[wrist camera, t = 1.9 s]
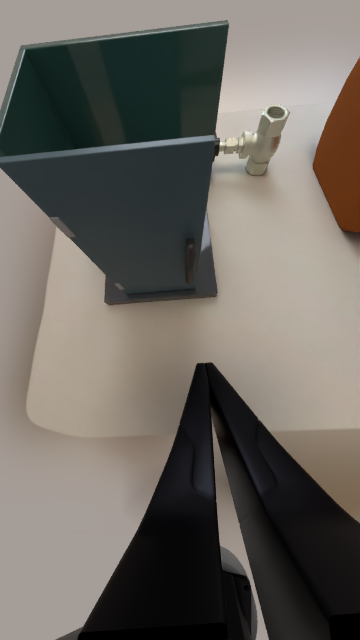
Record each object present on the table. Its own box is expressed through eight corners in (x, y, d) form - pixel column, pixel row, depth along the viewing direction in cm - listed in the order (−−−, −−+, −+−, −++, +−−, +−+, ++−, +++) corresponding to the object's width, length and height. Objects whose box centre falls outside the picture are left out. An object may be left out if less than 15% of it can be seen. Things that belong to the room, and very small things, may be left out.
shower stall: (216, 296, 23) (272, 182, 8) (108, 305, 23) (-33, 212, 8) (204, 208, 26) (228, 19, 12) (112, 217, 27) (20, 45, 12)
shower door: (196, 297, 21) (219, 163, 6) (124, 303, 21) (-12, 186, 7) (195, 285, 21) (214, 132, 7) (124, 290, 22) (-3, 155, 7)
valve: (265, 154, 29) (199, 158, 29) (287, 95, 22) (203, 102, 23) (270, 181, 27) (201, 185, 28) (296, 127, 21) (206, 133, 21)
